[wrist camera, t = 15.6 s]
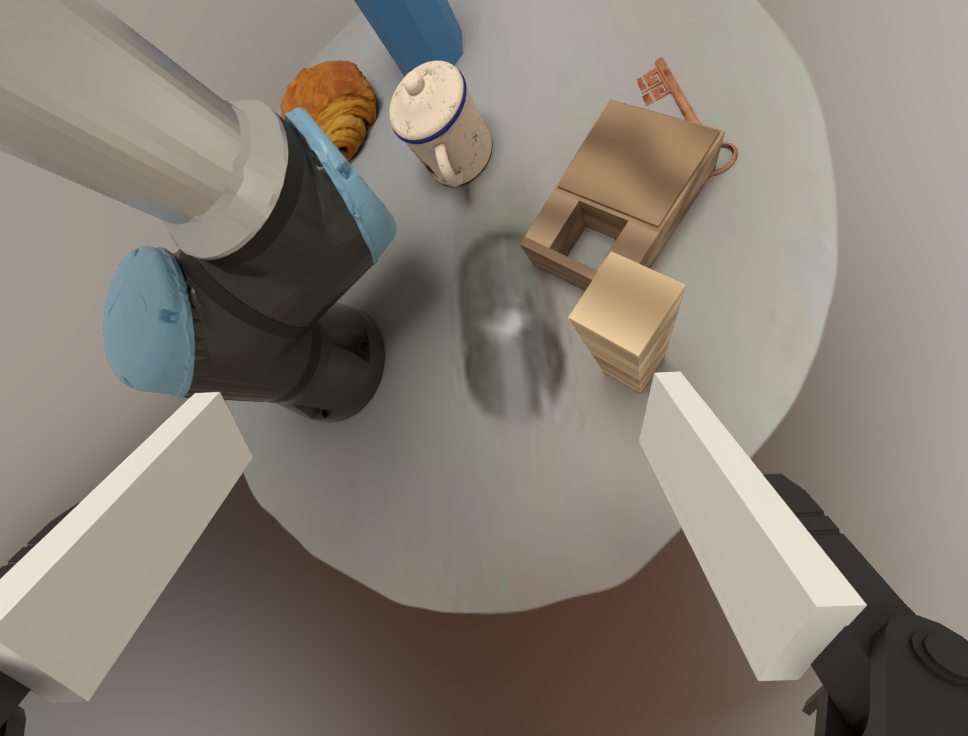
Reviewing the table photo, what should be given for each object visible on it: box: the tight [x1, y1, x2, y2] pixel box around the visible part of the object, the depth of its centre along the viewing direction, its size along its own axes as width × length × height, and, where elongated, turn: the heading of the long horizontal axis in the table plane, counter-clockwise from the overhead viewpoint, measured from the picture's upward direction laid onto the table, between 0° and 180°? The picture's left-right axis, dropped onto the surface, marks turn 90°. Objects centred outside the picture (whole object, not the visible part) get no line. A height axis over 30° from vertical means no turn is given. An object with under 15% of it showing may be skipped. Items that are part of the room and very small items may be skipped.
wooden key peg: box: [568, 251, 686, 393], centre depth 29 cm, size 4×4×20 cm
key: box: [637, 57, 738, 177], centre depth 40 cm, size 6×1×15 cm
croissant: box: [281, 60, 376, 161], centre depth 55 cm, size 14×16×8 cm
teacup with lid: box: [390, 61, 492, 187], centre depth 43 cm, size 12×9×12 cm
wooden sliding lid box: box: [520, 100, 725, 291], centre depth 38 cm, size 16×11×5 cm
